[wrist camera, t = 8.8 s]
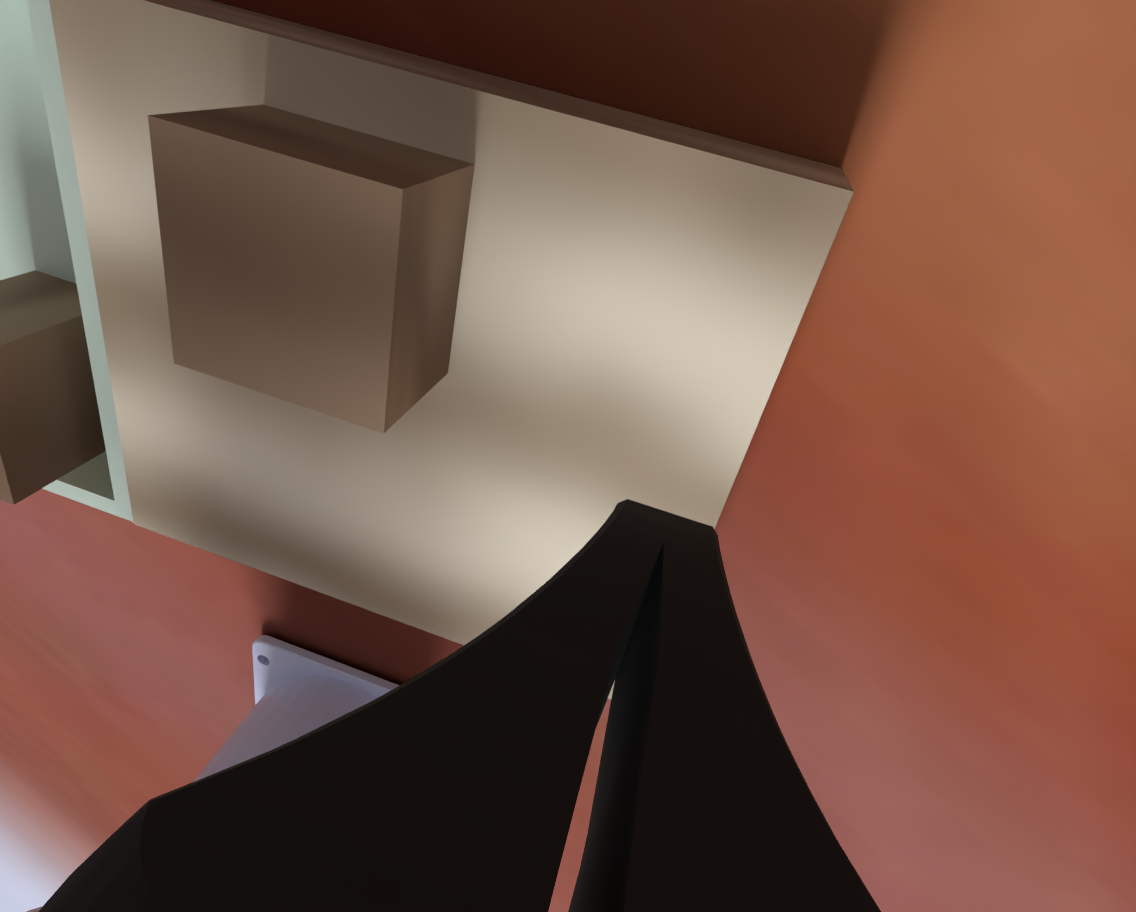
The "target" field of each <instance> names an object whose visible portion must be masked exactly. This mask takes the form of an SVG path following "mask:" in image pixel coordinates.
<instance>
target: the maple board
mask: <svg viewBox="0 0 1136 912" xmlns="http://www.w3.org/2000/svg"><path fill="white" fill-rule="evenodd" d="M49 3H50V9H51V16H52V22H53V28H54V34H55V40H56V47H57V53H58V59H59V65H60V71H61V77H62V84H63V90H64V96H65V102H66V108H67V115H68V121H69V127H70V133H71V139H72V145H73V152H74V158H75V164H76V170H77V176H78V183H79V189H80V195H81V201H82V207H83V214H84V220H85V226H86V232H87V238H88V244H89V251H90V257H91V263H92V269H93V275H94V282H95V288H96V294H97V300H98V306H99V313H100V319H101V325H102V331H103V337H104V343H105V350H106V356H107V362H108V368H109V374H110V381H111V387H112V393H113V399H114V405H115V412H116V418H117V424H118V430H119V436H120V442H121V449H122V455H123V461H124V467H125V473H126V480H127V486H128V492H129V498H130V504H131V511H132V517H133V523H134V524H135V525H138V526H141V527H143V528H146V529H149V530H151V531H154V532H157V533H160V534H162V535H165V536H168V537H170V538H173V539H176V540H179V541H181V542H184V543H187V544H190V545H192V546H195V547H198V548H200V549H203V550H206V551H209V552H211V553H214V554H217V555H219V556H222V557H225V558H228V559H230V560H233V561H236V562H239V563H241V564H244V565H247V566H249V567H252V568H255V569H258V570H260V571H263V572H266V573H268V574H271V575H274V576H277V577H279V578H282V579H285V580H288V581H290V582H293V583H296V584H298V585H301V586H304V587H307V588H309V589H312V590H315V591H317V592H320V593H323V594H326V595H328V596H331V597H334V598H337V599H339V600H342V601H345V602H347V603H350V604H353V605H356V606H358V607H361V608H364V609H366V610H369V611H372V612H375V613H377V614H380V615H383V616H386V617H388V618H391V619H394V620H396V621H399V622H402V623H405V624H407V625H410V626H413V627H415V628H418V629H421V630H424V631H426V632H429V633H432V634H435V635H437V636H440V637H443V638H445V639H448V640H451V641H454V642H456V643H459V644H462V645H466V644H467V643H468V642H470V641H471V640H473V639H474V638H476V637H477V636H479V635H480V634H482V633H483V632H484V631H486V630H487V629H488V628H490V627H491V626H493V625H494V624H495V623H497V622H498V621H499V620H501V619H502V618H503V617H505V616H506V615H507V614H508V613H510V612H511V611H512V610H513V609H515V608H516V607H517V606H518V605H519V604H521V603H522V602H523V601H524V600H525V599H527V598H528V597H529V596H530V595H531V594H533V593H534V592H535V591H536V590H537V589H539V588H540V587H541V586H542V585H544V584H545V583H546V582H547V581H548V580H549V579H550V578H551V577H553V576H554V575H555V574H556V573H557V572H558V571H559V570H560V569H561V568H562V567H563V566H564V565H565V564H566V563H567V562H568V561H569V560H570V559H571V558H572V557H573V556H574V555H575V554H576V553H577V552H579V551H580V550H581V549H582V548H583V547H584V545H585V544H586V543H587V542H588V541H589V540H590V539H591V538H592V537H593V536H594V534H595V533H596V532H597V531H598V530H599V529H600V528H601V526H602V525H603V524H604V523H605V521H606V520H607V519H608V517H609V516H610V515H611V513H612V512H613V510H614V509H615V507H616V505H617V503H619V502H621V501H624V500H626V499H629V500H632V501H635V502H638V503H642V504H645V505H648V506H651V507H654V508H657V509H660V510H663V511H666V512H669V513H672V514H675V515H678V516H682V517H685V518H688V519H691V520H694V521H697V522H700V523H703V524H706V525H709V526H712V527H713V528H714V529H715V526H716V524H717V522H718V519H719V517H720V514H721V512H722V509H723V507H724V505H725V502H726V500H727V497H728V495H729V492H730V490H731V488H732V485H733V483H734V480H735V478H736V476H737V473H738V471H739V468H740V466H741V463H742V461H743V459H744V456H745V454H746V451H747V449H748V447H749V444H750V442H751V439H752V437H753V434H754V432H755V430H756V427H757V425H758V422H759V420H760V417H761V415H762V413H763V410H764V408H765V405H766V403H767V401H768V398H769V396H770V393H771V391H772V388H773V386H774V384H775V381H776V379H777V376H778V374H779V372H780V369H781V367H782V364H783V362H784V359H785V357H786V355H787V352H788V350H789V347H790V345H791V342H792V340H793V338H794V335H795V333H796V330H797V328H798V326H799V323H800V321H801V318H802V316H803V313H804V311H805V309H806V306H807V304H808V301H809V299H810V296H811V294H812V292H813V289H814V287H815V284H816V282H817V280H818V277H819V275H820V272H821V270H822V267H823V265H824V263H825V260H826V258H827V255H828V253H829V251H830V248H831V246H832V243H833V241H834V238H835V236H836V234H837V231H838V229H839V226H840V224H841V221H842V219H843V217H844V214H845V212H846V209H847V207H848V205H849V202H850V200H851V197H852V195H853V192H854V191H853V189H852V187H851V185H850V183H849V181H848V180H847V178H846V176H845V174H844V172H843V170H842V168H840V167H836V166H832V165H828V164H824V163H821V162H817V161H813V160H809V159H806V158H802V157H798V156H794V155H791V154H787V153H783V152H779V151H776V150H772V149H768V148H764V147H761V146H757V145H753V144H749V143H746V142H742V141H738V140H734V139H731V138H727V137H723V136H719V135H715V134H712V133H708V132H704V131H700V130H697V129H693V128H689V127H685V126H682V125H678V124H674V123H670V122H667V121H663V120H659V119H655V118H652V117H648V116H644V115H640V114H637V113H633V112H629V111H625V110H622V109H618V108H614V107H610V106H606V105H603V104H599V103H595V102H591V101H588V100H584V99H580V98H576V97H573V96H569V95H565V94H561V93H558V92H554V91H550V90H546V89H543V88H539V87H535V86H531V85H528V84H524V83H520V82H516V81H513V80H509V79H505V78H501V77H497V76H494V75H490V74H486V73H482V72H479V71H475V70H471V69H467V68H464V67H460V66H456V65H452V64H449V63H445V62H441V61H437V60H434V59H430V58H426V57H422V56H419V55H415V54H411V53H407V52H404V51H400V50H396V49H392V48H388V47H385V46H381V45H377V44H373V43H370V42H366V41H362V40H358V39H355V38H351V37H347V36H343V35H340V34H336V33H332V32H328V31H325V30H321V29H317V28H313V27H310V26H306V25H302V24H298V23H295V22H291V21H287V20H283V19H279V18H276V17H272V16H268V15H264V14H261V13H257V12H253V11H249V10H246V9H242V8H238V7H234V6H231V5H227V4H223V3H219V2H216V1H212V0H49ZM252 105H267V106H270V107H274V108H278V109H281V110H285V111H288V112H292V113H295V114H299V115H302V116H306V117H309V118H313V119H316V120H320V121H324V122H327V123H331V124H334V125H338V126H341V127H345V128H348V129H352V130H355V131H359V132H363V133H366V134H370V135H373V136H377V137H380V138H384V139H387V140H391V141H394V142H398V143H401V144H405V145H409V146H412V147H416V148H419V149H423V150H426V151H430V152H433V153H437V154H440V155H444V156H447V157H451V158H455V159H458V160H462V161H465V162H469V163H472V164H475V167H474V174H473V182H472V190H471V198H470V205H469V213H468V221H467V229H466V236H465V244H464V252H463V260H462V267H461V275H460V283H459V291H458V298H457V306H456V314H455V322H454V329H453V337H452V345H451V352H450V360H449V368H448V374H447V375H445V376H444V377H443V378H442V379H441V380H440V381H439V382H438V383H437V384H436V385H435V386H434V387H433V388H432V389H431V390H430V391H429V392H427V393H426V394H425V395H424V396H423V397H422V398H421V399H420V400H419V401H418V402H417V403H416V404H415V405H414V406H413V407H412V408H411V409H409V410H408V411H407V412H406V413H405V414H404V415H403V416H402V417H401V418H400V419H399V420H398V421H397V422H396V423H395V424H394V425H393V426H391V427H390V428H389V429H388V430H387V431H386V432H385V433H384V434H383V433H380V432H377V431H374V430H371V429H368V428H365V427H362V426H359V425H356V424H353V423H350V422H347V421H344V420H341V419H338V418H335V417H332V416H329V415H326V414H324V413H321V412H318V411H315V410H312V409H309V408H306V407H303V406H300V405H297V404H294V403H291V402H288V401H285V400H282V399H279V398H276V397H273V396H270V395H267V394H264V393H261V392H258V391H255V390H252V389H249V388H246V387H243V386H240V385H237V384H234V383H231V382H228V381H225V380H222V379H219V378H216V377H213V376H210V375H207V374H204V373H201V372H198V371H195V370H192V369H189V368H186V367H183V366H180V365H177V364H174V360H173V351H172V341H171V332H170V322H169V313H168V303H167V294H166V284H165V275H164V265H163V256H162V246H161V237H160V227H159V218H158V208H157V199H156V189H155V180H154V170H153V161H152V151H151V142H150V132H149V123H148V115H156V114H166V113H177V112H188V111H199V110H209V109H220V108H231V107H242V106H252ZM614 682H615V681H614ZM613 688H614V683H613V686H612V688H611V691H610V693H609V696H608V698H609V699H612V693H613Z"/></svg>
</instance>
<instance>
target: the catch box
mask: <svg viewBox="0 0 1136 912" xmlns="http://www.w3.org/2000/svg"><path fill="white" fill-rule="evenodd" d="M35 270H36V271H39V272H42V273H45V274H48V275H51V276H54V277H57V278H60V279H63V280H66V281H70V282H73V283H76V284H77V289H78V295H79V301H80V306H81V312H82V318H83V324H84V329H85V335H86V341H87V346H88V352H89V358H90V363H91V369H92V375H93V380H94V386H95V392H96V397H97V403H98V409H99V414H100V420H101V426H102V431H103V437H104V443H105V448H106V451H105V452H103V453H102V454H100V455H98V456H97V457H95V458H93V459H91V460H90V461H88V462H86V463H85V464H83V465H81V466H79V467H78V468H76V469H74V470H72V471H71V472H69V473H67V474H66V475H64V476H62V477H60V478H59V479H57V480H55V481H54V482H52V483H50V484H48V485H47V486H45V487H43V488H42V489H45V490H48V491H50V492H53V493H56V494H59V495H61V496H64V497H67V498H70V499H72V500H75V501H78V502H80V503H83V504H86V505H89V506H91V507H94V508H97V509H100V510H102V511H105V512H108V513H110V514H113V515H116V516H119V517H121V518H124V519H127V520H129V521H132V522H133V517H132V511H131V504H130V498H129V492H128V486H127V480H126V473H125V467H124V461H123V455H122V449H121V442H120V436H119V430H118V424H117V418H116V412H115V405H114V399H113V393H112V387H111V381H110V374H109V368H108V362H107V356H106V350H105V343H104V337H103V331H102V325H101V319H100V313H99V306H98V300H97V294H96V288H95V282H94V275H93V269H92V263H91V257H90V251H89V244H88V238H87V232H86V226H85V220H84V214H83V207H82V201H81V195H80V189H79V183H78V176H77V170H76V164H75V158H74V152H73V145H72V139H71V133H70V127H69V121H68V115H67V108H66V102H65V96H64V90H63V84H62V77H61V71H60V65H59V59H58V53H57V47H56V40H55V34H54V28H53V22H52V16H51V9H50V3H49V0H0V280H3V279H7V278H10V277H14V276H17V275H21V274H24V273H28V272H31V271H35Z"/></svg>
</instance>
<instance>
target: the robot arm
mask: <svg viewBox="0 0 1136 912" xmlns="http://www.w3.org/2000/svg"><path fill="white" fill-rule="evenodd" d="M252 650H253V670H254V689H255V706H254V708H253V709H252V710H251V711H250V712H249V714H248V715H247V716H246V717H245V719H244V720H243V721H242V722H241V723H240V725H239V726H238V727H237V728H236V730H235V731H234V732H233V733H232V735H231V736H230V737H229V738H228V739H227V741H226V742H225V743H224V744H223V746H222V747H221V748H220V749H219V750H218V752H217V753H216V754H215V755H214V757H213V758H212V759H211V760H210V762H209V763H208V764H207V765H206V766H205V768H204V769H203V770H202V771H201V773H200V774H199V775H198V776H197V778H196V779H195V780H194V781H193V782H192V783H190V784H188V785H185V786H183V787H180V788H178V789H175V790H173V791H170V792H168V793H165V794H163V795H160V796H158V797H155V798H153V799H151V800H149V801H148V802H147V803H146V804H145V805H144V806H142V807H141V808H140V809H139V810H138V811H137V812H136V813H135V814H134V815H133V816H132V817H130V818H129V819H128V820H127V821H126V822H125V823H124V824H123V825H122V826H121V827H120V828H119V829H118V830H117V831H116V832H114V833H113V834H112V835H111V836H110V837H109V838H108V839H107V840H106V841H105V842H104V843H103V844H102V845H101V846H100V847H99V848H98V849H97V850H96V851H95V852H94V853H93V854H92V855H91V856H89V857H88V858H87V859H86V860H85V861H84V862H83V863H82V864H81V865H80V866H79V867H78V868H77V869H76V870H75V871H74V872H73V873H72V874H71V875H70V876H69V877H68V878H67V879H66V881H65V882H64V883H63V884H62V885H61V886H60V887H59V889H58V890H57V891H56V892H55V893H54V894H53V896H52V897H51V898H50V899H49V900H48V901H47V902H46V904H45V905H44V906H43V907H39V908H36V909H33V910H29V911H27V912H548V910H549V906H550V902H551V898H552V894H553V890H554V886H555V882H556V878H557V874H558V870H559V866H560V862H561V858H562V854H563V851H564V847H565V843H566V839H567V835H568V831H569V827H570V823H571V820H572V816H573V812H574V808H575V804H576V800H577V796H578V792H579V789H580V785H581V781H582V777H583V773H584V770H585V766H586V762H587V758H588V755H589V751H590V747H591V743H592V739H593V736H594V732H595V729H596V726H597V724H598V721H599V719H600V716H601V714H602V711H603V709H604V706H605V703H606V701H607V698H608V696H609V693H610V691H611V688H612V686H613V683H614V688H613V693H612V699H611V704H610V710H609V716H608V721H607V727H606V732H605V738H604V744H603V749H602V755H601V761H600V766H599V772H598V778H597V783H596V789H595V795H594V800H593V806H592V812H591V817H590V823H589V829H588V834H587V839H586V843H585V848H584V852H583V857H582V862H581V866H580V870H579V874H578V878H577V882H576V885H575V889H574V893H573V896H572V900H571V904H570V908H569V911H568V912H881V911H880V909H879V908H878V906H877V905H876V903H875V901H874V900H873V898H872V896H871V895H870V893H869V892H868V890H867V888H866V887H865V885H864V883H863V882H862V880H861V878H860V877H859V875H858V874H857V872H856V870H855V869H854V867H853V865H852V864H851V862H850V861H849V859H848V857H847V856H846V854H845V852H844V851H843V849H842V848H841V846H840V844H839V843H838V841H837V839H836V837H835V836H834V834H833V832H832V830H831V828H830V826H829V825H828V823H827V821H826V819H825V817H824V815H823V813H822V812H821V810H820V808H819V806H818V804H817V802H816V801H815V799H814V797H813V795H812V793H811V791H810V789H809V787H808V785H807V783H806V781H805V779H804V777H803V775H802V773H801V771H800V769H799V767H798V765H797V763H796V761H795V759H794V757H793V755H792V753H791V751H790V749H789V747H788V745H787V743H786V741H785V738H784V736H783V734H782V732H781V730H780V727H779V725H778V723H777V721H776V718H775V716H774V714H773V712H772V709H771V707H770V704H769V702H768V699H767V697H766V694H765V692H764V690H763V687H762V685H761V682H760V680H759V677H758V675H757V672H756V669H755V667H754V664H753V661H752V658H751V656H750V653H749V650H748V647H747V644H746V641H745V638H744V635H743V632H742V629H741V626H740V623H739V620H738V617H737V614H736V611H735V607H734V604H733V601H732V597H731V594H730V590H729V586H728V582H727V579H726V575H725V570H724V566H723V562H722V557H721V552H720V547H719V541H718V536H717V534H716V532H715V530H714V528H713V527H712V526H709V525H706V524H703V523H700V522H697V521H694V520H691V519H688V518H685V517H682V516H678V515H675V514H672V513H669V512H666V511H663V510H660V509H657V508H654V507H651V506H648V505H645V504H642V503H638V502H635V501H632V500H629V499H626V500H624V501H621V502H619V503H617V505H616V507H615V509H614V510H613V512H612V513H611V515H610V516H609V517H608V519H607V520H606V521H605V523H604V524H603V525H602V526H601V528H600V529H599V530H598V531H597V532H596V533H595V534H594V536H593V537H592V538H591V539H590V540H589V541H588V542H587V543H586V544H585V545H584V547H583V548H582V549H581V550H580V551H579V552H577V553H576V554H575V555H574V556H573V557H572V558H571V559H570V560H569V561H568V562H567V563H566V564H565V565H564V566H563V567H562V568H561V569H560V570H559V571H558V572H557V573H556V574H555V575H554V576H553V577H551V578H550V579H549V580H548V581H547V582H546V583H545V584H544V585H542V586H541V587H540V588H539V589H537V590H536V591H535V592H534V593H533V594H531V595H530V596H529V597H528V598H527V599H525V600H524V601H523V602H522V603H521V604H519V605H518V606H517V607H516V608H515V609H513V610H512V611H511V612H510V613H508V614H507V615H506V616H505V617H503V618H502V619H501V620H499V621H498V622H497V623H495V624H494V625H493V626H491V627H490V628H488V629H487V630H486V631H484V632H483V633H482V634H480V635H479V636H477V637H476V638H474V639H473V640H471V641H470V642H468V643H467V644H466V645H464V646H463V647H461V648H460V649H458V650H457V651H455V652H454V653H452V654H451V655H449V656H448V657H446V658H444V659H443V660H441V661H439V662H438V663H436V664H435V665H433V666H431V667H430V668H428V669H426V670H425V671H423V672H421V673H420V674H418V675H416V676H415V677H413V678H412V679H410V680H408V681H407V682H405V683H403V684H401V685H397V684H395V683H392V682H389V681H387V680H384V679H381V678H379V677H376V676H374V675H371V674H368V673H366V672H363V671H360V670H358V669H355V668H352V667H350V666H347V665H344V664H342V663H339V662H337V661H334V660H331V659H329V658H326V657H323V656H321V655H318V654H315V653H313V652H310V651H307V650H305V649H302V648H300V647H297V646H294V645H292V644H289V643H286V642H284V641H281V640H278V639H276V638H273V637H271V636H267V635H261V636H259V637H258V638H257V639H256V640H255V641H254V643H253V645H252ZM614 681H615V682H614Z"/></svg>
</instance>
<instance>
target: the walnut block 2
mask: <svg viewBox="0 0 1136 912" xmlns="http://www.w3.org/2000/svg"><path fill="white" fill-rule="evenodd" d="M148 123H149V132H150V142H151V151H152V161H153V170H154V180H155V189H156V199H157V208H158V218H159V227H160V237H161V246H162V256H163V265H164V275H165V284H166V294H167V303H168V313H169V322H170V332H171V341H172V351H173V360H174V364H177V365H180V366H183V367H186V368H189V369H192V370H195V371H198V372H201V373H204V374H207V375H210V376H213V377H216V378H219V379H222V380H225V381H228V382H231V383H234V384H237V385H240V386H243V387H246V388H249V389H252V390H255V391H258V392H261V393H264V394H267V395H270V396H273V397H276V398H279V399H282V400H285V401H288V402H291V403H294V404H297V405H300V406H303V407H306V408H309V409H312V410H315V411H318V412H321V413H324V414H326V415H329V416H332V417H335V418H338V419H341V420H344V421H347V422H350V423H353V424H356V425H359V426H362V427H365V428H368V429H371V430H374V431H377V432H380V433H383V434H384V433H385V432H386V431H387V430H388V429H389V428H390V427H391V426H393V425H394V424H395V423H396V422H397V421H398V420H399V419H400V418H401V417H402V416H403V415H404V414H405V413H406V412H407V411H408V410H409V409H411V408H412V407H413V406H414V405H415V404H416V403H417V402H418V401H419V400H420V399H421V398H422V397H423V396H424V395H425V394H426V393H427V392H429V391H430V390H431V389H432V388H433V387H434V386H435V385H436V384H437V383H438V382H439V381H440V380H441V379H442V378H443V377H444V376H445V375H447V374H448V368H449V360H450V352H451V345H452V337H453V329H454V322H455V314H456V306H457V298H458V291H459V283H460V275H461V267H462V260H463V252H464V244H465V236H466V229H467V221H468V213H469V205H470V198H471V190H472V182H473V174H474V167H475V164H472V163H469V162H465V161H462V160H458V159H455V158H451V157H447V156H444V155H440V154H437V153H433V152H430V151H426V150H423V149H419V148H416V147H412V146H409V145H405V144H401V143H398V142H394V141H391V140H387V139H384V138H380V137H377V136H373V135H370V134H366V133H363V132H359V131H355V130H352V129H348V128H345V127H341V126H338V125H334V124H331V123H327V122H324V121H320V120H316V119H313V118H309V117H306V116H302V115H299V114H295V113H292V112H288V111H285V110H281V109H278V108H274V107H270V106H267V105H252V106H242V107H231V108H220V109H209V110H199V111H188V112H177V113H166V114H156V115H148Z"/></svg>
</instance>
